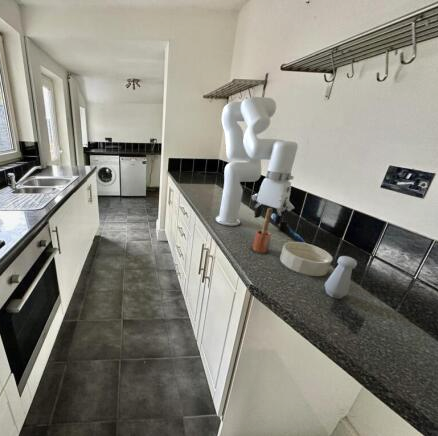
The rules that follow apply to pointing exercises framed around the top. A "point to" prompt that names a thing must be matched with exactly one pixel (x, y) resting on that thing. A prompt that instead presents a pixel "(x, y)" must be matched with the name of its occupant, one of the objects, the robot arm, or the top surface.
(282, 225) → the knife
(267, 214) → the wooden spoon
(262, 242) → the pot
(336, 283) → the salt shaker
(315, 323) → the top surface
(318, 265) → the bowl
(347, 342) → the top surface
